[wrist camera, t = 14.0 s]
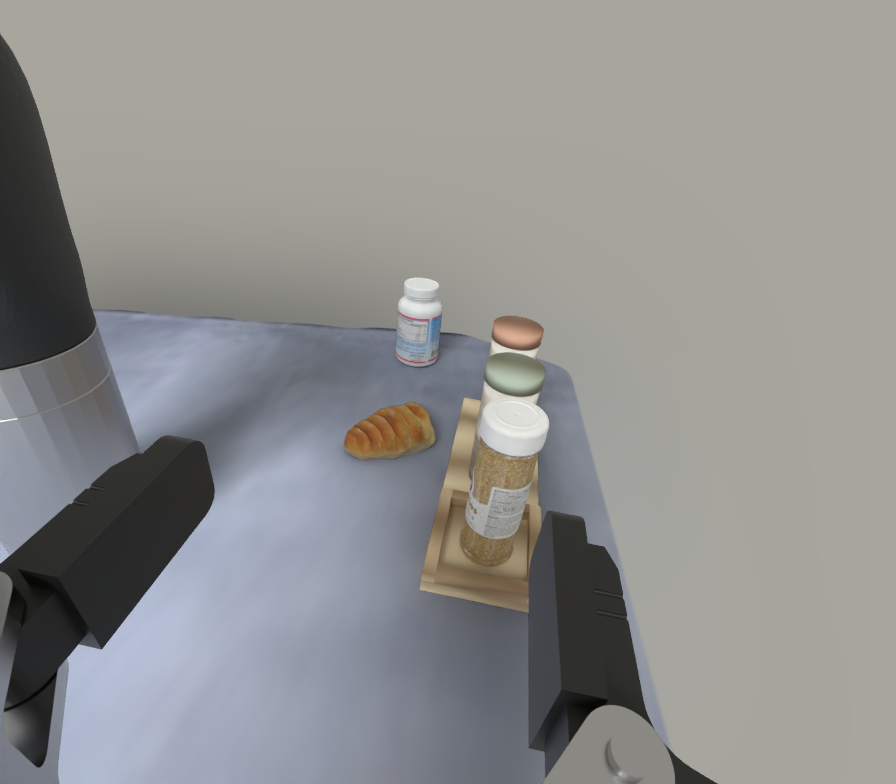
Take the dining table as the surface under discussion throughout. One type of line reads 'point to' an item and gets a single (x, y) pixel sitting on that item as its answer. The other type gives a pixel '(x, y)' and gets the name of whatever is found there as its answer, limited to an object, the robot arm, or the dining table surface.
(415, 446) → the pastry
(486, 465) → the spice jar
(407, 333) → the pill bottle
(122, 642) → the dining table surface
